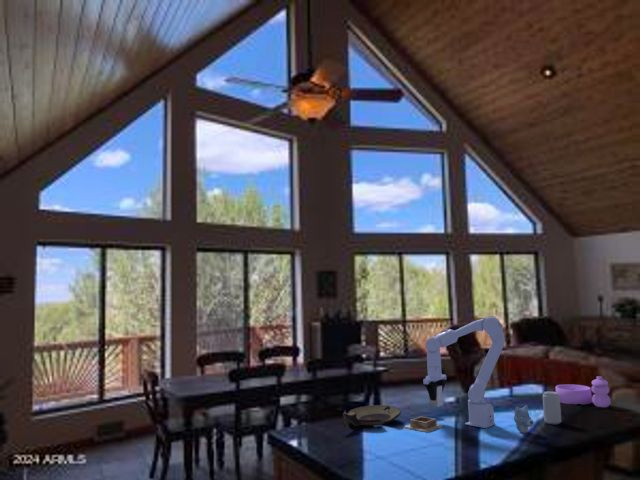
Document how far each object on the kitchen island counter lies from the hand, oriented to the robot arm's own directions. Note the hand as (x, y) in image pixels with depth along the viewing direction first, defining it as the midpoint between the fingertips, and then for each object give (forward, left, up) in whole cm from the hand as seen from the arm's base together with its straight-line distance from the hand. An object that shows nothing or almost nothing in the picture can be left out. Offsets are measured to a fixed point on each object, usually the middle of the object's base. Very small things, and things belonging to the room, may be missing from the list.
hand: (436, 399), depth 222 cm
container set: (-34, -71, -10) cm, 79 cm away
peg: (0, 0, -2) cm, 3 cm away
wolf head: (-35, -6, -10) cm, 37 cm away
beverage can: (-37, -27, -10) cm, 47 cm away
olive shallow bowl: (+21, +19, -10) cm, 30 cm away
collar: (0, +10, -9) cm, 14 cm away
